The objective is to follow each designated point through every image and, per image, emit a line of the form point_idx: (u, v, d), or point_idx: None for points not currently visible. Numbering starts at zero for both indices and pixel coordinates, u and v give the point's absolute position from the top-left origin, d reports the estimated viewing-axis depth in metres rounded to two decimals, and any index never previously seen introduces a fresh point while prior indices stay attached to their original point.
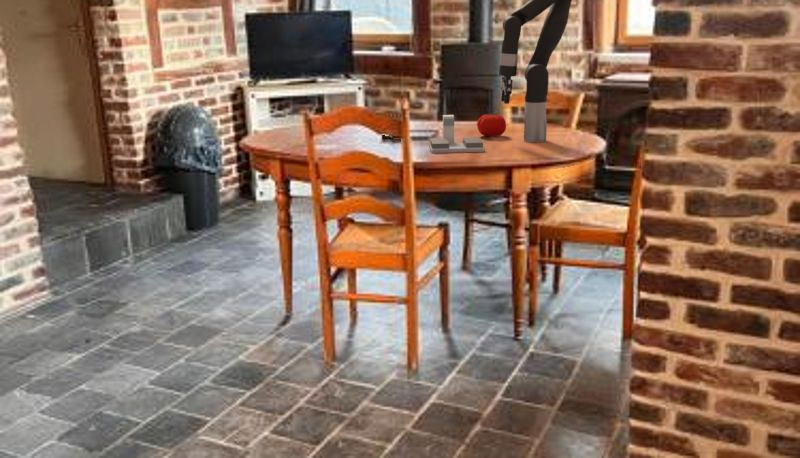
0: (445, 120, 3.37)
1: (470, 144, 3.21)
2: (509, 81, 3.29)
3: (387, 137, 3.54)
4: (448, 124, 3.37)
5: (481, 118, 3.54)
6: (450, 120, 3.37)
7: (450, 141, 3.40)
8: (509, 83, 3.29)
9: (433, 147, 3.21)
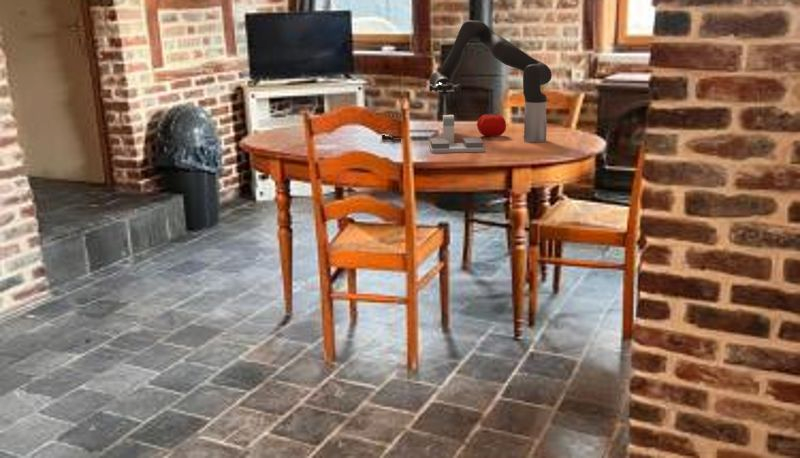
0: (445, 120, 3.37)
1: (470, 144, 3.21)
2: None
3: (387, 137, 3.54)
4: (448, 124, 3.37)
5: (481, 118, 3.54)
6: (450, 120, 3.37)
7: (450, 141, 3.40)
8: None
9: (433, 147, 3.21)
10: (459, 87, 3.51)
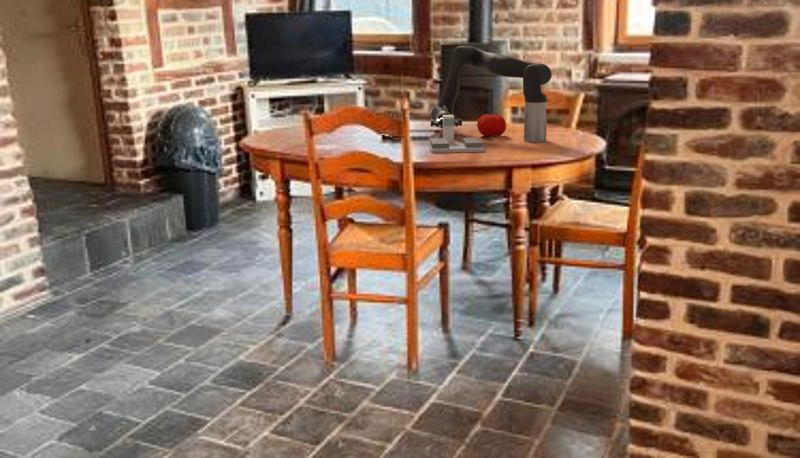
0: (445, 120, 3.37)
1: (470, 144, 3.21)
2: None
3: (387, 137, 3.54)
4: (448, 124, 3.37)
5: (481, 118, 3.54)
6: (450, 120, 3.37)
7: (450, 141, 3.40)
8: None
9: (433, 147, 3.21)
10: (460, 122, 3.51)
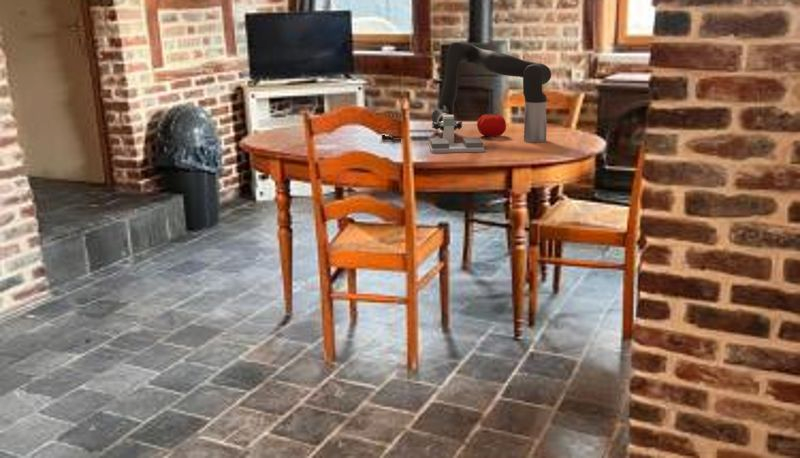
0: (445, 120, 3.37)
1: (470, 144, 3.21)
2: (432, 125, 3.46)
3: (387, 137, 3.54)
4: (448, 124, 3.37)
5: (481, 118, 3.54)
6: (450, 120, 3.37)
7: (450, 141, 3.40)
8: (433, 125, 3.46)
9: (433, 147, 3.21)
10: (458, 125, 3.42)
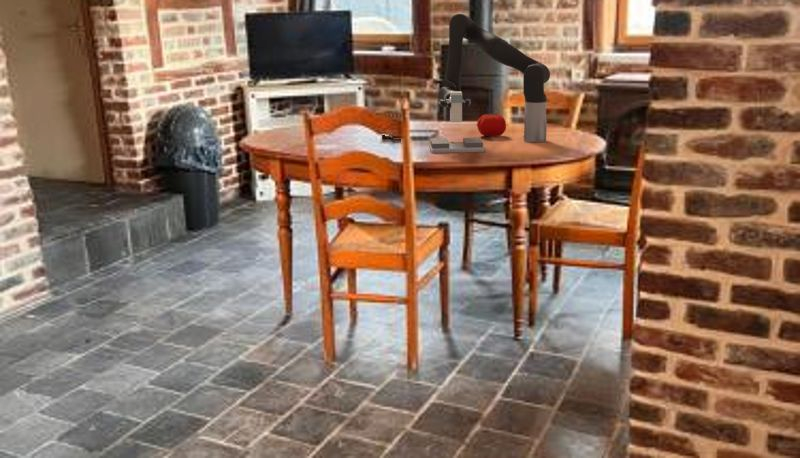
0: (453, 96, 3.19)
1: (470, 144, 3.21)
2: (439, 102, 3.29)
3: (387, 137, 3.54)
4: (456, 101, 3.20)
5: (481, 118, 3.54)
6: (458, 96, 3.19)
7: (458, 119, 3.22)
8: (439, 102, 3.28)
9: (433, 147, 3.21)
10: (466, 102, 3.24)
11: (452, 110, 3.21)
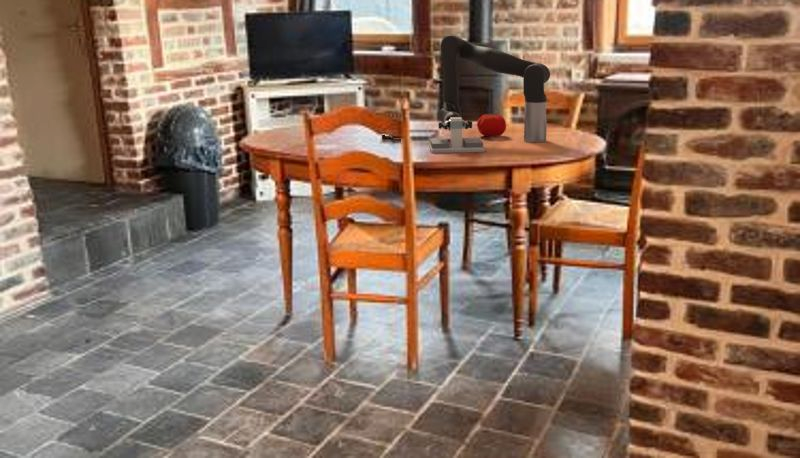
0: (453, 123, 3.22)
1: (470, 144, 3.21)
2: None
3: (387, 137, 3.54)
4: (456, 127, 3.22)
5: (481, 118, 3.54)
6: (458, 123, 3.22)
7: (458, 145, 3.25)
8: None
9: (433, 147, 3.21)
10: (470, 124, 3.28)
11: (452, 136, 3.24)
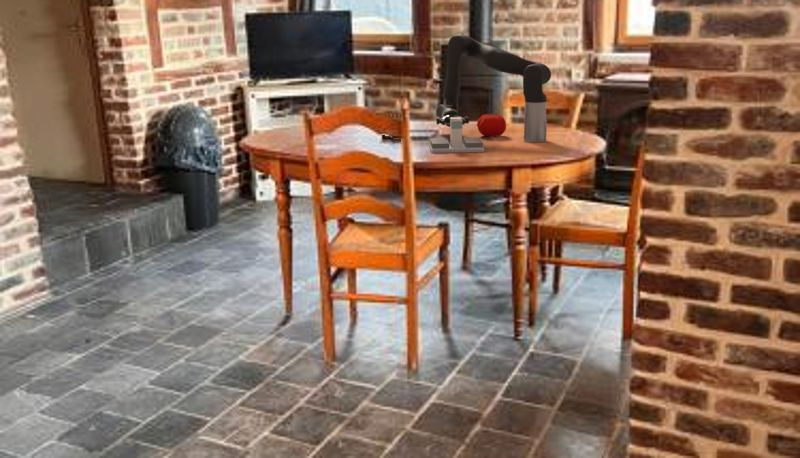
0: (453, 123, 3.22)
1: (470, 144, 3.21)
2: None
3: (387, 137, 3.54)
4: (456, 127, 3.22)
5: (481, 118, 3.54)
6: (458, 123, 3.22)
7: (458, 145, 3.25)
8: None
9: (433, 147, 3.21)
10: (467, 120, 3.40)
11: (452, 136, 3.24)
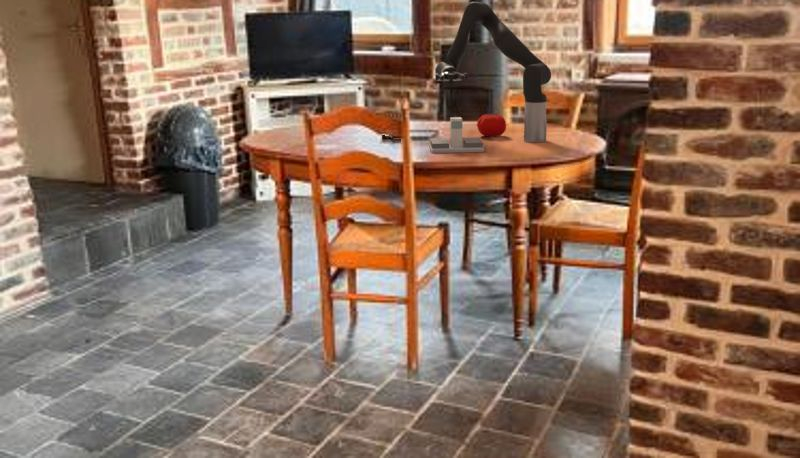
0: (453, 123, 3.22)
1: (470, 144, 3.21)
2: None
3: (387, 137, 3.54)
4: (456, 127, 3.22)
5: (481, 118, 3.54)
6: (458, 123, 3.22)
7: (458, 145, 3.25)
8: None
9: (433, 147, 3.21)
10: (466, 76, 3.40)
11: (452, 136, 3.24)
